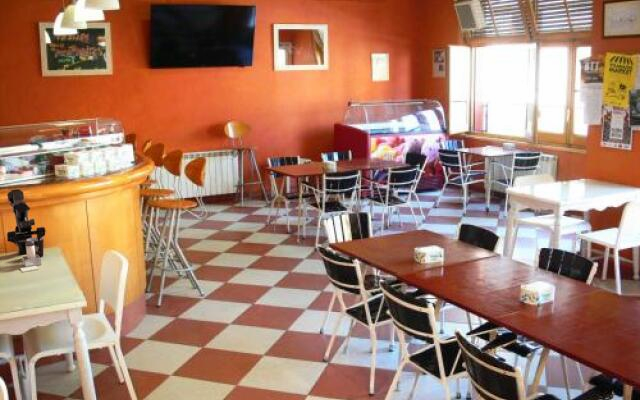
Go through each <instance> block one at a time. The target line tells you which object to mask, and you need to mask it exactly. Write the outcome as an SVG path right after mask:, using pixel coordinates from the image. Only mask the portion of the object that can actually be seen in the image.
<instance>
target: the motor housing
mask: <svg viewBox="0 0 640 400" xmlns="http://www.w3.org/2000/svg"><path fill="white" fill-rule="evenodd" d="M35 256H36V258H32V259H27V255H26V256H22V258H21V259H22V263H23V266H24V267H29V266H36V267H38V266H42V257H40V256H39V255H38V254H37V255H35Z"/></svg>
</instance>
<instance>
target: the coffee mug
mask: <svg viewBox="0 0 640 400" xmlns="http://www.w3.org/2000/svg"><path fill="white" fill-rule="evenodd" d="M27 241H34V247H35V255H37V254H38V255H39V256H40V257H41V258H43V257H44V241H45V240H44V236H43V237H42V238H41V239H40V244H39V246H38V242H37V236H36V237H32V238H30V239H27ZM21 244H25V243H24V242H23V243H21ZM21 244H20V247H21ZM21 249H22V248H21ZM22 250H24V249H22ZM24 251H26V250H24ZM26 252H27V251H26Z"/></svg>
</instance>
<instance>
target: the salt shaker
mask: <svg viewBox="0 0 640 400" xmlns="http://www.w3.org/2000/svg"><path fill="white" fill-rule="evenodd" d="M25 244H26V251H27V254H26V256H27V259H32V258H36V256H35V247H34V241H26V242H25Z"/></svg>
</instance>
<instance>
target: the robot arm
mask: <svg viewBox="0 0 640 400" xmlns="http://www.w3.org/2000/svg"><path fill="white" fill-rule="evenodd" d="M6 195H7V196H6V197H8V198H7V202H9V205H10V207H11V208H12V209H11V210H12V213H13V214H14V218H15V223H16V226H15V228H14V231H12V230H11V231H7V232H6V241H7V243H9V242H10V243H13V244H14V245H15V246H16V247H17V249H18V251H17V252H16V253H17V254H18V255H27V252H26V251H24V250H26V244H21V243H23V242H24V243H25V242H26V241H27V239H30V238H33V235H36V237H37V242H38V246H39V244H40V239H41V238H42V237H43V238H44V237H45V236H46V231H47V230H46V228H45V227H44V226H41V227H36V230H33V227H32V226H35V225H36V222H35V218H30V219H29V217H28V216H29V211H30V209H31V208H30V206H29V205H28V204H27V203H26V201H25V195H24V191H22V190H21V189H19V188H18V189H11V190H10V192H9V191H8V192H7V194H6ZM20 244H21V247H20ZM21 248H22V249H24V250H22V249H21Z"/></svg>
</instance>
